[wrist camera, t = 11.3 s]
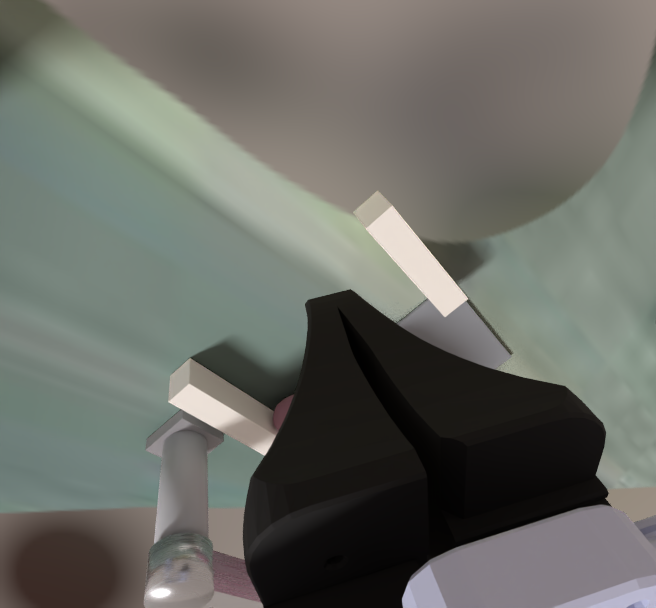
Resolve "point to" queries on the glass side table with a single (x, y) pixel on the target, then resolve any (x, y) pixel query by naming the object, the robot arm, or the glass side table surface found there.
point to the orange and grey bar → (196, 576)
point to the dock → (244, 411)
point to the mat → (456, 333)
